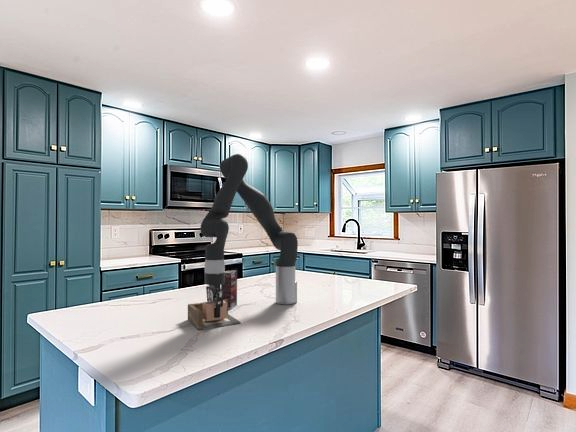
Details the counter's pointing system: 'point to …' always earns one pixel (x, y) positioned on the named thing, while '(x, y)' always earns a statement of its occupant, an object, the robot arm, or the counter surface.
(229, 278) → the supplement box
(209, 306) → the terracotta block
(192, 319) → the arena
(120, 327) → the counter surface
